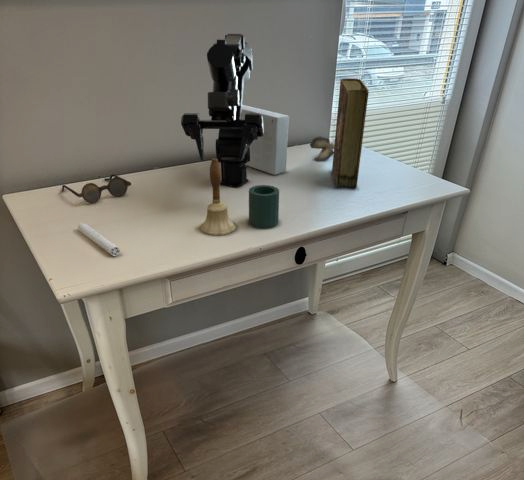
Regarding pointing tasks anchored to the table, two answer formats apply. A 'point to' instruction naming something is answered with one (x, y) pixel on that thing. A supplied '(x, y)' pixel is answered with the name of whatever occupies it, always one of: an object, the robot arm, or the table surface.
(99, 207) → the table surface
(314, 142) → the open clam shell
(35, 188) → the table surface
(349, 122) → the book
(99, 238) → the white cylindrical rod
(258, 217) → the jar
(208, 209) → the hand bell
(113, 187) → the eyeglasses
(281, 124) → the skincare box
